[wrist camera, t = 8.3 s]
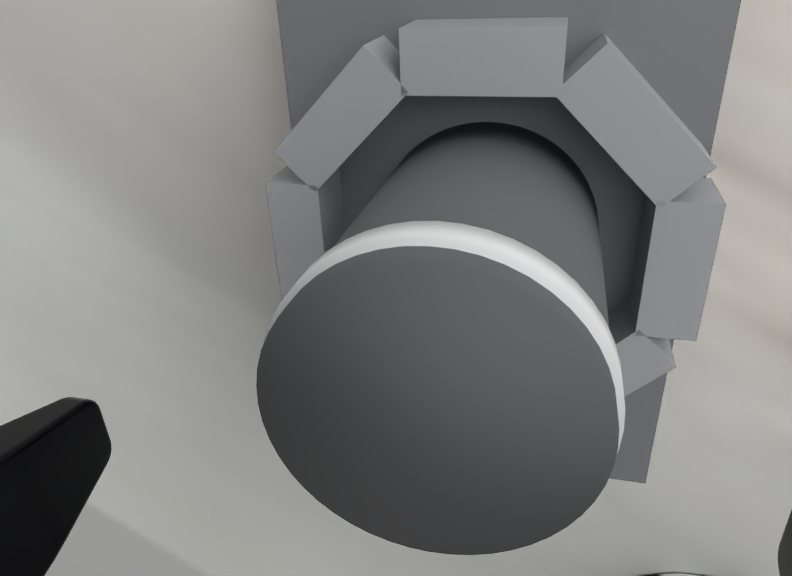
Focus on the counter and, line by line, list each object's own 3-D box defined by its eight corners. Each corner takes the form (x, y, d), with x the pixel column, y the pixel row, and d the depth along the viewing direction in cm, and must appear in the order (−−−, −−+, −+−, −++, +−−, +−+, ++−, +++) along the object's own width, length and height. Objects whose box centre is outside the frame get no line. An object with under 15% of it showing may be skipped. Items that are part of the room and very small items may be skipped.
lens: (590, 336, 15) (603, 585, 9) (382, 318, 17) (274, 529, 11) (617, 118, 13) (655, 265, 7) (370, 115, 14) (221, 239, 8)
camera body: (726, -124, 14) (804, -156, 9) (636, 393, 20) (655, 527, 16) (326, -100, 16) (223, -116, 11) (362, 362, 23) (306, 473, 18)
